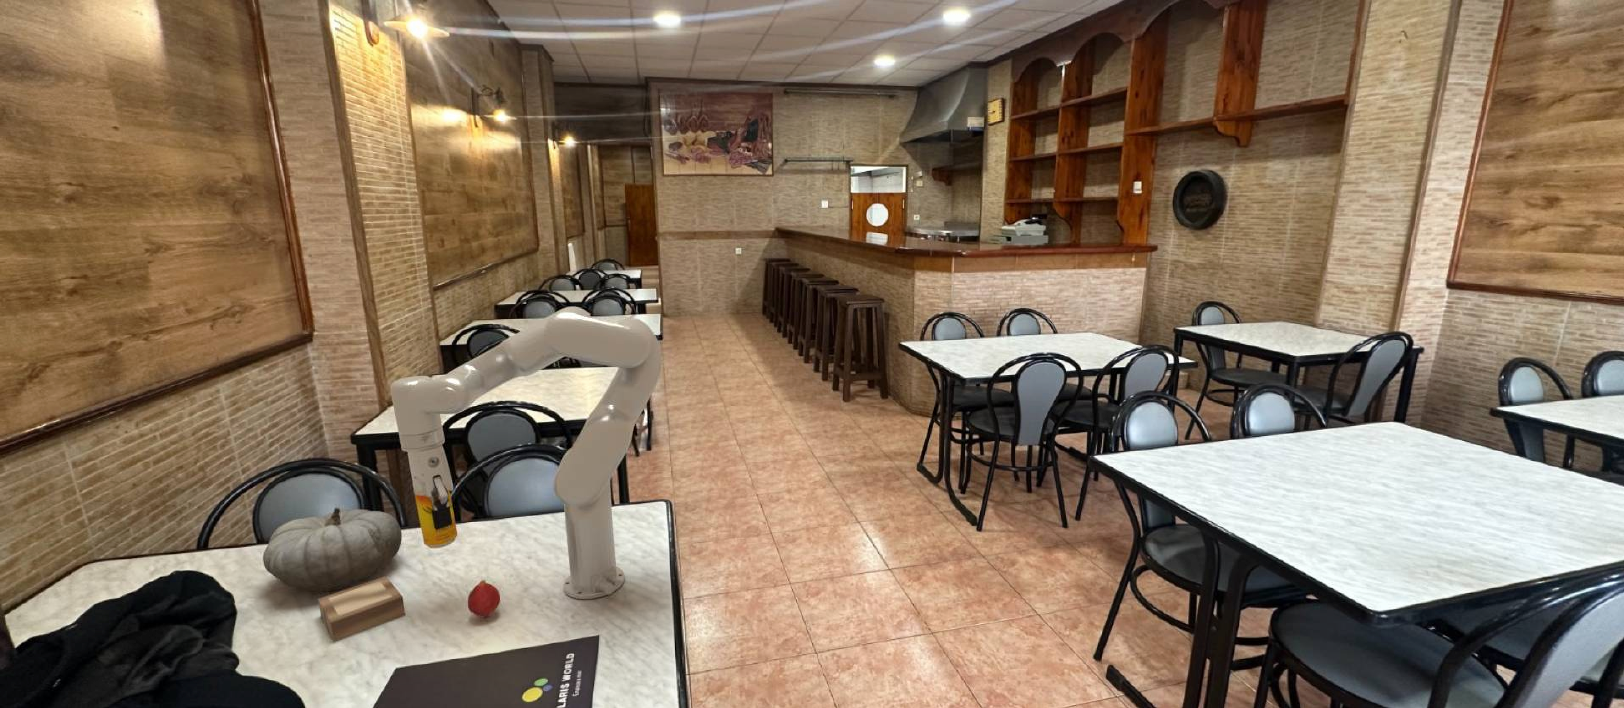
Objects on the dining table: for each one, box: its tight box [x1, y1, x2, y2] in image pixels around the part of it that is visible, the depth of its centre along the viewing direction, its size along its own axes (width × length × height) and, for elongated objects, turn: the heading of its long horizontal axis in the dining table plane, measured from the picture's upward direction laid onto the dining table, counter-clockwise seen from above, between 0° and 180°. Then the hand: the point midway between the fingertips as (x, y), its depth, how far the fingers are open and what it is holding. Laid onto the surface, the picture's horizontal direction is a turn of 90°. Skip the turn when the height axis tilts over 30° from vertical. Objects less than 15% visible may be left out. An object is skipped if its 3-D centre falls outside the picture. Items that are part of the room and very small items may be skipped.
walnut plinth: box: [317, 575, 406, 643], centre depth 134 cm, size 12×12×4 cm
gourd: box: [262, 506, 403, 592], centre depth 148 cm, size 25×25×17 cm
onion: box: [467, 579, 501, 618], centre depth 133 cm, size 6×6×8 cm
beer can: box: [412, 477, 458, 549], centre depth 135 cm, size 6×6×15 cm
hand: (437, 521), depth 136 cm, fingers closed on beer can, 6 cm apart
